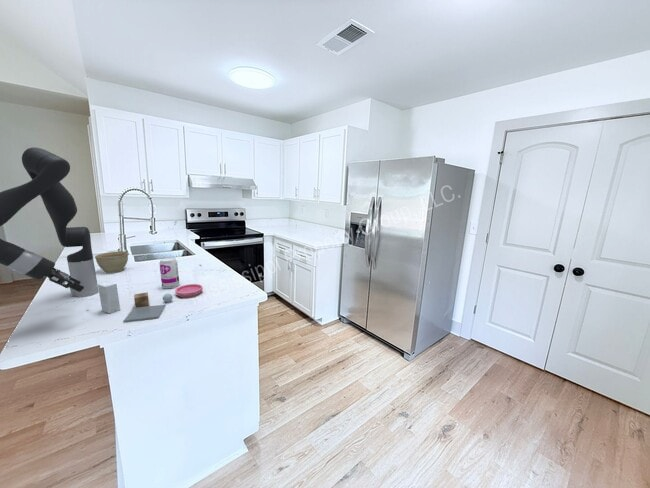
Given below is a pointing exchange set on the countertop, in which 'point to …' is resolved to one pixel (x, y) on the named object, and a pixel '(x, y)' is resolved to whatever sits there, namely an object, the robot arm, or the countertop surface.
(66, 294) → the countertop surface
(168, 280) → the supplement can
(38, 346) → the countertop surface
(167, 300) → the grey ball
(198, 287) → the saucer
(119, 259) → the planter bowl
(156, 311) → the slate coaster
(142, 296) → the walnut block
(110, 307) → the skincare box
